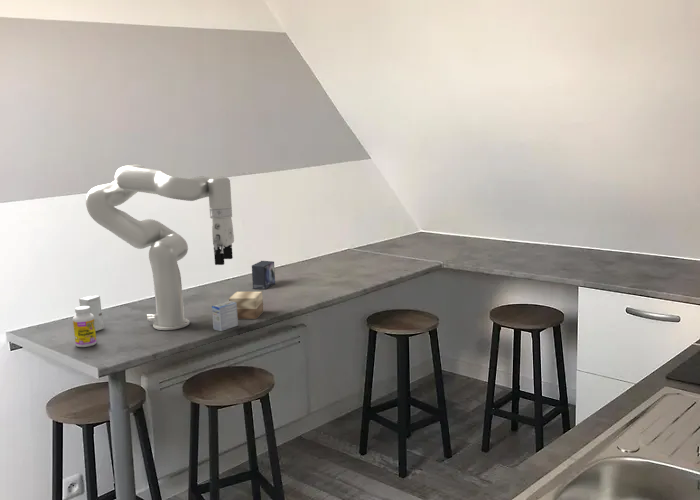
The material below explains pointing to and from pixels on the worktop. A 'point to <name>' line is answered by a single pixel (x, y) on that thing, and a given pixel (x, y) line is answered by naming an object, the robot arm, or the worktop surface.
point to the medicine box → (224, 315)
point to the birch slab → (247, 299)
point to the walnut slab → (250, 312)
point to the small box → (263, 274)
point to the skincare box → (94, 309)
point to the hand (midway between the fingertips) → (223, 261)
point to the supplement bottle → (84, 327)
